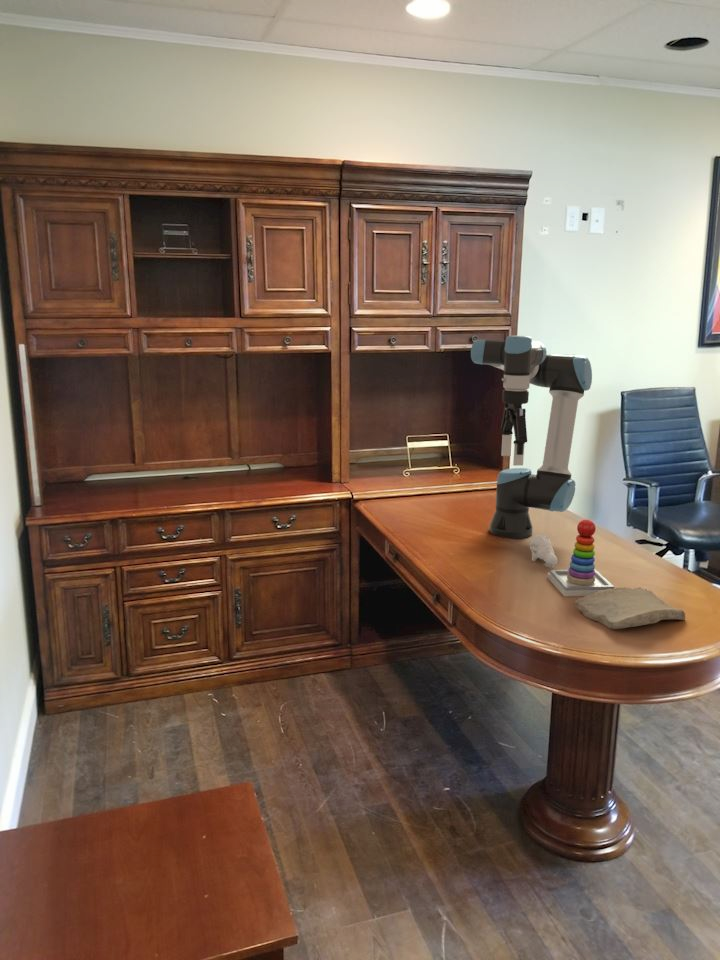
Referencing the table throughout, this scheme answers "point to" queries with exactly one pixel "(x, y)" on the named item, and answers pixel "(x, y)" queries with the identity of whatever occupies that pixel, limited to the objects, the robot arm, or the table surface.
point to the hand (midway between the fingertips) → (511, 460)
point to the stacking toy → (583, 555)
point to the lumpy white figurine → (543, 550)
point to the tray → (574, 589)
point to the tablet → (626, 608)
